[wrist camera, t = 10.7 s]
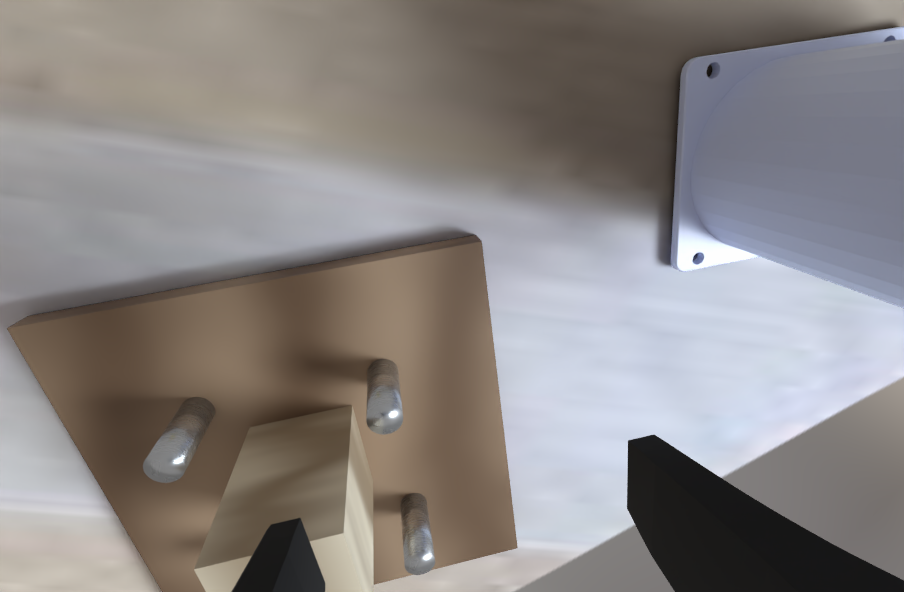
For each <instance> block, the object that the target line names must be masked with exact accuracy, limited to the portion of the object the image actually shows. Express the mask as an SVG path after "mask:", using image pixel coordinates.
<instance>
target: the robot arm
mask: <svg viewBox="0 0 904 592" xmlns="http://www.w3.org/2000/svg"><path fill="white" fill-rule="evenodd" d="M709 65H711V66H712V70H713V71H712V74H711V76H710V77H708V76H707V73H706V71H707V67H708V66H709ZM696 253H698V256H697V258H696V259H695V260H694V261H693V260H692V259H693V256H694V255H695V254H696ZM757 257H763V258H765V259H768V260H771V261H774V262H776V263H779V264H782V265H785V266H788V267H790V268H793V269H796V270H799V271H801V272H804V273H807V274H810V275H813V276H815V277H818V278H821V279H824V280H826V281H829V282H832V283H835V284H837V285H840V286H843V287H846V288H849V289H851V290H854V291H857V292H860V293H862V294H865V295H868V296H871V297H874V298H876V299H879V300H882V301H885V302H887V303H890V304H893V305H896V306H898V307H901V308H904V26H903V27H896V28H890V29H883V30H876V31H869V32H863V33H856V34H849V35H843V36H836V37H829V38H822V39H816V40H809V41H802V42H795V43H789V44H782V45H775V46H768V47H762V48H755V49H748V50H741V51H735V52H728V53H721V54H715V55H708V56H701V57H695V58H692V59H690V60H689V61H688V62H686V63H685V65H684V67H683V68H682V72H681V80H680V98H679V117H678V135H677V153H676V172H675V190H674V208H673V227H672V245H671V265H672V266H673V268H675V269H677V270H679V271H681V272H686V271H691V270H696V269H701V268H706V267H712V266H717V265H722V264H727V263H732V262H737V261H742V260H747V259H752V258H757ZM627 509H628V511H629V513H630V515H631V517H632V519H633V521H634V523H635V525H636V527H637V529H638V531H639V533H640V535H641V536H642V538H643V540H644V542H645V544H646V546H647V548H648V550H649V552H650V553H651V555H652V557H653V558H654V560H655V561H656V563H657V565H658V566H659V568H660V569H661V571H662V572H663V574H664V575H665V577H666V578H667V580H668V582H669V583H670V585H671V586H672V588H673V589H674V591H675V592H904V581H903V580H901V579H900V578H898V577H896V576H894V575H891V574H890V573H888V572H886V571H884V570H882V569H880V568H878V567H876V566H873V565H872V564H870V563H868V562H866V561H864V560H862V559H860V558H858V557H856V556H854V555H852V554H850V553H848V552H846V551H844V550H843V549H841V548H839V547H837V546H835V545H833V544H831V543H829V542H828V541H826V540H824V539H822V538H820V537H819V536H817V535H815V534H813V533H812V532H810V531H808V530H806V529H805V528H803V527H801V526H799V525H797V524H796V523H794V522H792V521H790V520H789V519H787V518H785V517H783V516H782V515H780V514H778V513H777V512H775V511H773V510H772V509H770V508H768V507H767V506H765V505H763V504H762V503H760V502H758V501H757V500H755V499H753V498H752V497H750V496H749V495H747V494H745V493H744V492H742V491H741V490H739V489H737V488H736V487H734V486H733V485H731V484H729V483H728V482H726V481H724V480H723V479H722V478H720V477H718V476H717V475H715V474H714V473H712V472H711V471H709V470H708V469H706V468H705V467H703V466H702V465H700V464H698V463H697V462H695V461H694V460H692V459H691V458H689V457H688V456H686V455H685V454H683V453H682V452H680V451H679V450H677V449H676V448H674V447H673V446H671V445H669V444H668V443H666V442H665V441H663V440H662V439H660V438H659V437H657V436H655V435H650V436H646V437H642V438H638V439H633V440H629V441H628V489H627ZM231 592H325V581H324V578H323V575H322V573H321V570H320V568H319V565H318V562H317V560H316V557H315V554H314V552H313V549H312V547H311V544H310V541H309V539H308V536H307V534H306V531H305V528H304V526H303V523H302V520H301V518H296V519H292V520H288V521H284V522H279V523H275V524H271V525H270V526H269V528H268V529H267V530H266V532H265V534H264V536H263V537H262V539H261V541H260V543H259V544H258V546H257V548H256V550H255V551H254V553H253V555H252V557H251V558H250V560H249V562H248V564H247V566H246V567H245V569H244V571H243V573H242V574H241V576H240V578H239V579H238V581H237V583H236V585H235V586H234V588H233V590H232V591H231Z"/></svg>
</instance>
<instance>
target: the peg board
mask: <svg viewBox="0 0 904 592" xmlns="http://www.w3.org/2000/svg"><path fill="white" fill-rule="evenodd" d="M7 330H8V331H9V333H10V335H11V336H12V338H13V340H14V341H15V343H16V345H17V347H18V348H19V350H20V352H21V353H22V355H23V357H24V358H25V360H26V362H27V363H28V365H29V367H30V369H31V370H32V372H33V374H34V375H35V377H36V379H37V380H38V382H39V384H40V385H41V387H42V389H43V391H44V392H45V394H46V396H47V397H48V399H49V401H50V402H51V404H52V406H53V407H54V409H55V411H56V413H57V414H58V416H59V418H60V419H61V421H62V423H63V424H64V426H65V428H66V429H67V431H68V433H69V435H70V436H71V438H72V440H73V441H74V443H75V445H76V446H77V448H78V450H79V451H80V453H81V455H82V457H83V458H84V460H85V462H86V463H87V465H88V467H89V468H90V470H91V472H92V473H93V475H94V477H95V479H96V480H97V482H98V484H99V485H100V487H101V489H102V490H103V492H104V494H105V495H106V497H107V499H108V501H109V502H110V504H111V506H112V507H113V509H114V511H115V512H116V514H117V516H118V517H119V519H120V521H121V523H122V524H123V526H124V528H125V529H126V531H127V533H128V534H129V536H130V538H131V539H132V541H133V543H134V545H135V546H136V548H137V550H138V551H139V553H140V555H141V556H142V558H143V560H144V561H145V563H146V565H147V567H148V568H149V570H150V572H151V573H152V575H153V577H154V578H155V580H156V582H157V583H158V585H159V587H160V589H161V590H162V592H206V591H205V589H204V587H203V585H202V584H201V582H200V580H199V578H198V576H197V574H196V572H195V571H194V568H195V565H196V563H197V560H198V558H199V555H200V553H201V550H202V548H203V545H204V543H205V540H206V537H207V535H208V532H209V530H210V527H211V525H212V522H213V520H214V517H215V515H216V512H217V509H218V507H219V504H220V502H221V499H222V497H223V494H224V492H225V489H226V487H227V484H228V481H229V479H230V476H231V474H232V471H233V469H234V466H235V464H236V461H237V459H238V456H239V453H240V451H241V448H242V446H243V443H244V441H245V438H246V436H247V433H248V430H249V428H250V427H254V426H258V425H263V424H268V423H272V422H277V421H281V420H286V419H291V418H295V417H300V416H305V415H309V414H314V413H319V412H323V411H328V410H332V409H337V408H342V407H346V406H351V405H352V406H353V410H354V413H355V417H356V421H357V424H358V428H359V431H360V435H361V439H362V442H363V446H364V449H365V453H366V457H367V460H368V464H369V468H370V471H371V475H372V478H373V573H374V584H378V583H382V582H386V581H390V580H394V579H398V578H402V577H406V576H409V575H421V574H425V573H427V572H429V571H430V570H433V569H437V568H441V567H445V566H449V565H453V564H457V563H461V562H464V561H468V560H472V559H476V558H480V557H484V556H488V555H492V554H496V553H500V552H504V551H508V550H512V549H516V548H517V540H516V532H515V523H514V514H513V506H512V497H511V489H510V480H509V472H508V463H507V454H506V446H505V437H504V429H503V420H502V412H501V403H500V395H499V386H498V377H497V369H496V360H495V352H494V343H493V335H492V326H491V318H490V309H489V300H488V292H487V283H486V275H485V266H484V258H483V249H482V241H481V240H480V239H479V238H478V237H477V236H476V235H473V236H467V237H461V238H456V239H450V240H445V241H439V242H434V243H428V244H423V245H417V246H412V247H406V248H401V249H395V250H390V251H384V252H379V253H373V254H368V255H362V256H357V257H351V258H346V259H340V260H335V261H329V262H323V263H318V264H312V265H307V266H301V267H296V268H290V269H285V270H279V271H274V272H268V273H263V274H257V275H252V276H246V277H241V278H235V279H230V280H224V281H219V282H213V283H208V284H202V285H197V286H191V287H186V288H180V289H174V290H169V291H163V292H158V293H152V294H147V295H141V296H136V297H130V298H125V299H119V300H114V301H108V302H103V303H97V304H92V305H86V306H81V307H75V308H70V309H64V310H59V311H53V312H48V313H42V314H37V315H31V316H27V317H26V318H24V319H22V320H20V321H19V322H17V323H15V324H14V325H12V326H10V327H8V328H7Z"/></svg>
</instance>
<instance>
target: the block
mask: <svg viewBox="0 0 904 592" xmlns="http://www.w3.org/2000/svg"><path fill="white" fill-rule="evenodd" d="M296 518H301V520H302V523H303V526H304V528H305V531H306V534H307V536H308V539H309V541H310V544H311V547H312V549H313V552H314V554H315V557H316V560H317V562H318V565H319V568H320V570H321V573H322V575H323V578H324V581H325V592H374V573H373V478H372V475H371V471H370V468H369V464H368V460H367V457H366V453H365V449H364V446H363V442H362V439H361V435H360V431H359V428H358V424H357V421H356V417H355V413H354V410H353V406H352V405H351V406H346V407H342V408H337V409H332V410H328V411H323V412H319V413H314V414H309V415H305V416H300V417H295V418H291V419H286V420H281V421H277V422H272V423H268V424H263V425H258V426H254V427H250V428H249V430H248V433H247V436H246V438H245V441H244V443H243V446H242V448H241V451H240V453H239V456H238V459H237V461H236V464H235V466H234V469H233V471H232V474H231V476H230V479H229V481H228V484H227V487H226V489H225V492H224V494H223V497H222V499H221V502H220V504H219V507H218V509H217V512H216V515H215V517H214V520H213V522H212V525H211V527H210V530H209V532H208V535H207V537H206V540H205V543H204V545H203V548H202V550H201V553H200V555H199V558H198V560H197V563H196V565H195V568H194V571H195V572H196V574H197V576H198V578H199V580H200V582H201V584H202V585H203V587H204V589H205V591H206V592H231V591H232V590H233V588H234V586H235V585H236V583H237V581H238V579H239V578H240V576H241V574H242V573H243V571H244V569H245V567H246V566H247V564H248V562H249V560H250V558H251V557H252V555H253V553H254V551H255V550H256V548H257V546H258V544H259V543H260V541H261V539H262V537H263V536H264V534H265V532H266V530H267V529H268V528H269V526H270V525H271V524H275V523H279V522H284V521H288V520H292V519H296Z"/></svg>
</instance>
